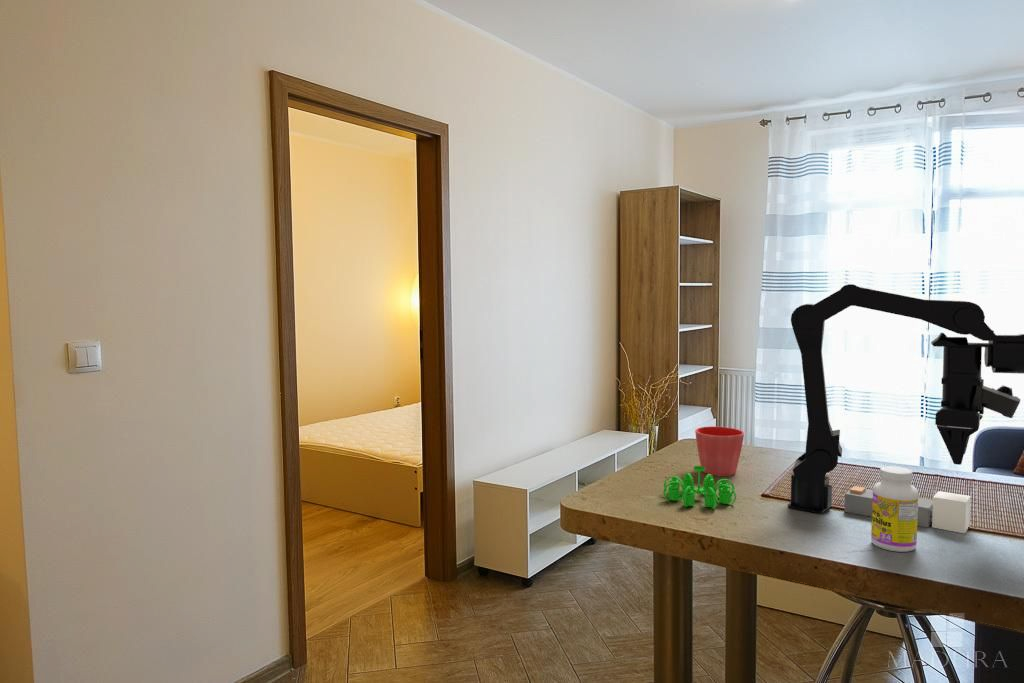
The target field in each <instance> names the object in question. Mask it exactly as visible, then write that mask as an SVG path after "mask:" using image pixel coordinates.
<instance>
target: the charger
mask: <svg viewBox="0 0 1024 683" xmlns="http://www.w3.org/2000/svg"><path fill="white" fill-rule="evenodd" d="M971 498H972V496H971V495H966V494H960V493H954V492H953V493H952V492H949V491H940V490H938V491H937V492H936V493H935V495H934V496H933V497H932V500H933V508H931V509H930V516H932V523H931V527H932V528H934V529H940V530H944V531H951V532H955V533H961V534H966V533H967V531H968V529H969V528H970V522H971V521H970V519H971V517H970V516H971V500H972V499H971ZM968 527H969V528H968Z"/></svg>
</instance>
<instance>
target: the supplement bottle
mask: <svg viewBox="0 0 1024 683" xmlns="http://www.w3.org/2000/svg"><path fill="white" fill-rule="evenodd" d="M879 470H880V471H879V476H880V480H881V481H878V482H877V483H875V484H874V485H873V487H872V490H873V504H872V517H871V529H870V530H871V532H870V533H871V534H870V536H871V537H870V540H871V542H872V544H873V545H875V547H878V548H880V549H883V550H886V551H890V552H895V553H896V552H898V553H901V552H902V553H907V552H911V551H913V550H915V549H916V548H917V541H918V526H917V520H918V498H920V496H919V491H918V489H917V488H916V487H915V486H914V485H912V480H913V474H914V473H913V470H911V469H909V468H906V467H899V466H890V465H889V466H882V467H880V469H879Z"/></svg>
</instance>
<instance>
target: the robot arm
mask: <svg viewBox="0 0 1024 683" xmlns="http://www.w3.org/2000/svg"><path fill="white" fill-rule="evenodd" d="M851 306H852V307H853V306H854V307H859V308H864V309H868V310H874V311H877V312H882V313H887V314H888V313H889V314H892V315H898V316H902V317H908V318H913V319H917V320H920V321H921V320H922V321H924V322H926V323H930V324H932V325H934V326H938V327H939V328H942V329H945V330H947V331H950V332H953V333H955V334H958V335H965V336H966V335H967V336H968V335H971V336H973V337H974V338H976V339H979V340H981V341H983V342H968V337H967V336H966V337H965V336H961V337H960V336H947V335H946V334H945V333H944V332H940V333H939V334H938V336H937V337H936V338H935V339H933V340H932V341H931V342H930V344H931V345H932V346H933V347H943V351H942V352H943V359H942V360H943V361H942V362H943V363H942V364H943V365H942V377H941V380H940V381H941V385H942V396H941V397H942V399H941V401H940V409H938V410H937V411H936V413H935V422H934V423H935V424H934V425H936V429H937V430H938V432H939V434H940V436H941V438H942V440H943V442H944V444H945V447H946V449H947V452H948V454H949V455H950V458H951V461H952V463H953V464H954V465H961V466H962V463H963V458H964V455H965V454H966V452H967V448H968V443H969V439H970V436H972V435H973V434H974V433H976V432H978V431H979V429H980V426H981V425H980V424H981V420H982V419H983V415H984V413H985V409H988V410H990V411H993V412H996V413H998V414H1001V416H1003V417H1005V418H1010V419H1013V417H1014V415H1015V414H1016V411H1017V409H1018V407H1019V405H1020V403H1021V399H1020V398H1019V397H1018V396H1015V395H1014V393H1013V389H1012V387H1009V386H1006V385H1001V386H1000V387H998V388H997V389H995V388H993V387H988V386H985V384H984V378H982V352H983V349H982V348H984V353H983V354H984V356H983V357H984V365H985V367H986V368H989V367H991V371H992V374H993V373H994V374H1023V375H1024V333H1019V334H996V333H995V332H994V331H995V330H993V329H991V327H989V325H988V324H987V323H986V322H985V318H986V316H985V313H984V311H983V309H982V308H981V307H980V305H978V304H977V303H974V302H971V301H965V300H948V299H947V300H946V299H945V300H943V299H942V300H941V299H923V298H922V299H921V298H918V297H911V296H906V295H902V294H897V293H893V292H886V291H881V290H876V289H872V288H865V287H862V286H858V285H856V284H846V285H843V286H842V287H841V288H840V289H839V290H837V291H835V292H833V293H832V294H829V295H828V296H826V297H825V298H823V299H821V300H819V301H818V302H816V303H805V304H801V305H799V306H798V307H796V308H795V309H794V311H792V313H791V316H790V322H791V323H790V324H791V327H792V331H793V334H794V338H795V341H796V343H797V346H798V348H799V351H800V356H801V366H802V375H803V386H804V394H805V395H804V396H805V405H806V406H805V407H806V414H807V425H808V426H807V434H806V439H805V440H806V442H805V450H804V451H805V452H804V453H803V454H802V455H800V456H799V457H797V458H796V459H795V463H794V465H793V469H792V472H793V473H792V474H791V475H790V476H791V477H790V480H791V481H790V502H788V504H787V505H786V506H787V508H791V509H795V510H800V511H807V512H811V513H814V514H815V513H816V514H823V513H824V512H826V511H827V510H828V509H830V508H831V507H832V502H833V485H831V484H830V476H827V474H828V473H830V472H832V471H833V470H834V469H836V468H837V466H838V462H839V458H841V457H842V456H843V454H842V453H843V447H842V445H841V441H840V436H841V429H836V430H833V428H832V425H831V422H830V419H829V418H830V417H829V409H828V400H827V399H828V398H827V388H826V380H825V379H826V378H825V370H824V367H825V366H824V360H823V341H824V335H825V334H824V333H825V322H826V321H827V320H828V319H831V318H832V317H833V316H836V315H838V314H839V313H841V312H843V311H844V310H846V309H848V308H849V307H851ZM984 341H985V342H984ZM986 341H987V342H986Z"/></svg>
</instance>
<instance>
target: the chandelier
mask: <svg viewBox="0 0 1024 683" xmlns="http://www.w3.org/2000/svg"><path fill="white" fill-rule="evenodd" d="M693 471H696V472H697V474H698V475H697V477H698V478H697V480H698V481H697V482H698V484H697V487H695V483H694V482H695V481H694V478H693V475H691V473H689V472H688V473H687V472H686V473H685V474H684V476H683V480H682V479H681V478H680V477H679V476H677V475H676V476H675V475H671V476H668V477H667V478H666V479H665V480H664V483H663V496H664V497H663V498H664V499H665V500H666V501H667V502H669V500H670V501H677V500H680V501H681V500H682V504H683V506H684V508H686V507H692V506H694V505H695V494H697V495H700V494H701V495H704V506H705V507H707V508H710V510H715V509H716V506H717V503H718V504H719V503H722V504H723V505H725V504H727V505H728V506H732V505H733V504H734V503H735V502H736V499H737V493H736V491H735V485H734V483H733V481H731V480H729V479H727V478H722V479H719V480H717V481H716V483H715V481H714V475H710V474H706V476H705V478H703V481H702V487H701V472H703V471H705V467H703V466H701V465H695V466H693ZM670 478H671V479H670ZM668 480H669V482H668V483H667V481H668ZM728 482H729V483H730V484H731V485H730V484H729V483H728ZM680 487H681V489H682V490H681V492H680ZM717 492H718V494H717ZM666 494H667V495H668V496H667V495H666ZM733 496H734V497H733ZM732 497H733V501H732ZM731 501H732V502H731Z"/></svg>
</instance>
